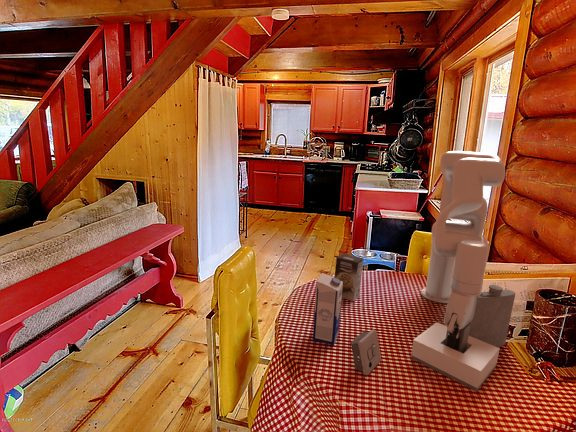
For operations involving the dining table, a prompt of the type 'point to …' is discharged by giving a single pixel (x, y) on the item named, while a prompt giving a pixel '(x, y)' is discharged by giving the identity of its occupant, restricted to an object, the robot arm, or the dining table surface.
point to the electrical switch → (366, 351)
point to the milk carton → (327, 309)
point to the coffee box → (349, 275)
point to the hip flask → (492, 316)
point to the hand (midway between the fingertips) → (455, 344)
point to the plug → (462, 337)
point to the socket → (455, 357)
